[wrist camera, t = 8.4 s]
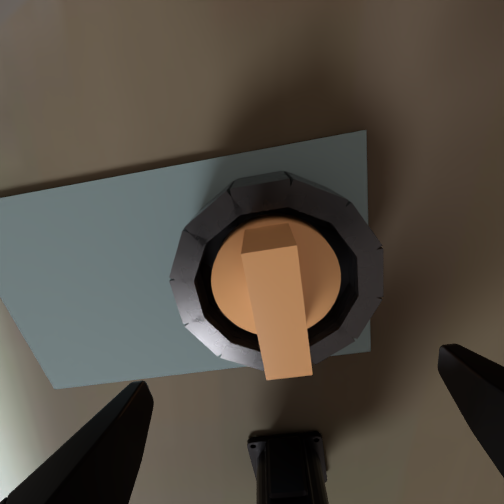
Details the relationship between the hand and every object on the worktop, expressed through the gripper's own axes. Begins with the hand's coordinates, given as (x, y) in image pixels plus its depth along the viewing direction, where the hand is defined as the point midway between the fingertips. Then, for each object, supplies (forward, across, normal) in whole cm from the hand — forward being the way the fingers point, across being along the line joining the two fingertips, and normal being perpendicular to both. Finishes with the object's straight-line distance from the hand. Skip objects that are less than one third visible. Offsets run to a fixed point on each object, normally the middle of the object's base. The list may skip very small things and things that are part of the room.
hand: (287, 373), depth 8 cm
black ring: (+10, 0, 0) cm, 10 cm away
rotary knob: (+7, 0, 0) cm, 7 cm away
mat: (+10, +6, +1) cm, 12 cm away
